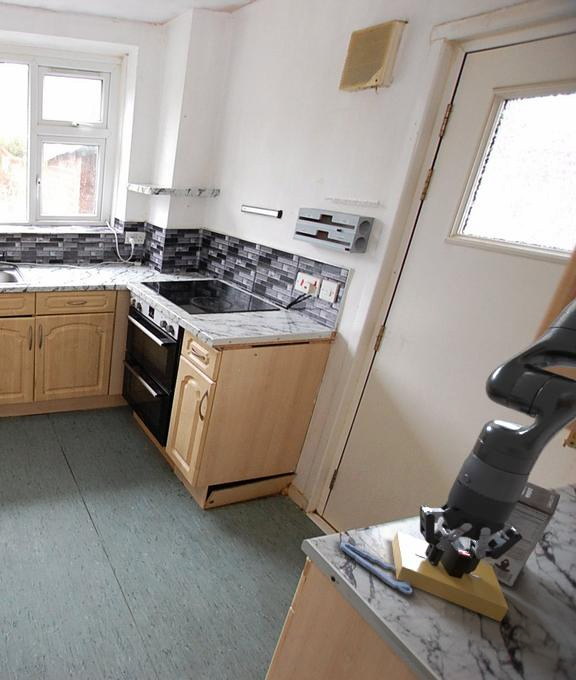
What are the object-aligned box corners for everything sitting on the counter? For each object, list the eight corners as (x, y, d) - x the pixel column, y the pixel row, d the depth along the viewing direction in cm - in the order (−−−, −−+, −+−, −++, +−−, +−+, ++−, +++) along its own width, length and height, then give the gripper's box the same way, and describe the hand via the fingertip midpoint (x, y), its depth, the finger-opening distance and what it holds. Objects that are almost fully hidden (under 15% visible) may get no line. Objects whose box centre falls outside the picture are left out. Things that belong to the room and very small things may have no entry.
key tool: (349, 540, 87) (335, 547, 85) (351, 537, 87) (337, 544, 84) (419, 589, 78) (405, 599, 75) (421, 585, 78) (407, 594, 75)
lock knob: (435, 553, 81) (445, 532, 79) (447, 556, 81) (457, 535, 79) (449, 575, 77) (460, 554, 75) (461, 578, 76) (472, 557, 75)
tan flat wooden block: (485, 578, 81) (492, 565, 80) (500, 622, 72) (509, 607, 71) (391, 543, 87) (397, 530, 86) (396, 579, 79) (402, 565, 78)
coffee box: (477, 542, 89) (512, 474, 84) (521, 564, 85) (561, 493, 79) (466, 564, 84) (503, 493, 78) (513, 589, 79) (555, 515, 73)
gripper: (526, 481, 74) (483, 561, 80) (426, 460, 78) (392, 538, 84) (559, 511, 68) (509, 596, 74) (448, 487, 71) (409, 570, 77)
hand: (447, 565), depth 79 cm, fingers open, 4 cm apart
